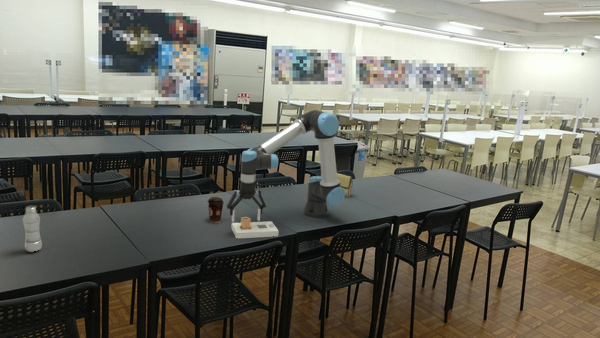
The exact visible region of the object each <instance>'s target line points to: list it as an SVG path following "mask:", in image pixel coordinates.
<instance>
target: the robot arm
mask: <svg viewBox="0 0 600 338" xmlns="http://www.w3.org/2000/svg"><path fill="white" fill-rule="evenodd" d="M339 128H340V123H339V119H338V117H336V115H334V114H333V113H330V112H328V111H321V110H318V109H313V110H309V111H307V112H305V113H304V114H302V115H299V117H296V118H295V119H294V122H293V123H291V124H290V125H288V126H287V127H285V128H284V129H282V130H281V131H279V132H278V133H276V134H275V135H273V136H272V137H270V138H269V139H267V140H266V141H264V142H262V143H261V144H260V145H258V146H257V147H251V148H249V149H247V150H244V151H242V153H241V158H240V159H241V163H240V164H241V165H240V182H239V184H240V185H239V190H236V189H234V190H233V193H232V195H231V197H230V199H229V201H228V202H227V204H226V208H227V210H229V215H230V216H231V223H235V208H236V207H237V205H238V204H239V203H240V202H241V201H243V200H251V199H252V200H253V201H254V202H255V203H256V204H257V206H258V207H257V216H256V220H257V222H261V215H262V214H263V210H264V208H267V204H266V203H265V200H264V198H263V196H262V191H261V190H260V189H256V177H257V176H256V175H257V170H272V169H273V170H274V169H276V168H278V166H279V157H278V156H277V154H275V152H276V151H278V150H280V149H281V148H282V147H284V146H286V144H288V143H289V142H291V141H293V140H294V139H296V138H298V137H299V136H300V135H302V134H307V133H308V132H312V131H313V132H314V138H315V140H317V143H318V154H319V162H320V172H321V173H322V176H318V175H316V176H310V177H309V178H308V182H307V183H308V186H307V198H306V199H307V200H306V203H305V204H304V207H303V210H302V213H303V214H304V215H306V216H307V217H312V218H325V217H327V216H328V214H329V209H328V205H329V206H333V207H335V206H338V205H340V204H341V203H342V202H343V201H344V199H345V197H346V196H345V191H344V189H343V188H342V187H341V185H340V180H339V179H338V178H337V173H338V172H337V163H336V152H335V141H334V138H336V136H337V132H338V130H339ZM255 194H256V195H257V196H258V198H259V200H260V202H261V203H260V202H259V200H257V198H256V197H255ZM238 195H239V196H238ZM237 196H238V197H237ZM236 197H237V199H236ZM235 199H236V200H235ZM327 204H328V205H327Z"/></svg>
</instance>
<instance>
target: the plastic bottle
mask: <svg viewBox="0 0 600 338" xmlns="http://www.w3.org/2000/svg"><path fill="white" fill-rule="evenodd" d="M36 211H37V207H36V206H35V205H28V206H25V214H24V215H23V217H22V224H23V228H24V234H25V237H24V250H25V251H26V252H27V251H28V253H35V252H34V251H36V252H38V250H39V251H40V250H41V249H42V247H43V246H42V245H43V243H42V242H43V241H42V238H41V234H40V224H41V217H40V214H38V213H37V212H36Z"/></svg>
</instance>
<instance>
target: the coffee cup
mask: <svg viewBox="0 0 600 338" xmlns="http://www.w3.org/2000/svg"><path fill="white" fill-rule="evenodd" d="M207 203H208V206H207V207H208V220H209V222H211V223H214V224H217V223H218V224H219V223H221V221H222V214H223V207H224V206H223V205H224V201H223V198H221V197H218V196H210V197H209V198H208V200H207Z"/></svg>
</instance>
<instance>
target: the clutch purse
mask: <svg viewBox="0 0 600 338" xmlns="http://www.w3.org/2000/svg"><path fill="white" fill-rule="evenodd" d="M317 176H322V173H321V171H320V172H319V173H318V175H317ZM337 178H338V179H339V180H340V185H341V187H342V188H343V189H344V191H345V197H348V198H350V197H351V192H352V188H353V184H354V183H353V176H350V175H346V174H341V173H338V172H337Z"/></svg>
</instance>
